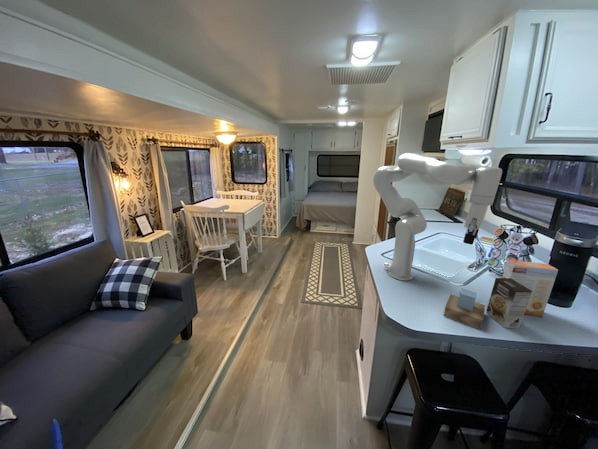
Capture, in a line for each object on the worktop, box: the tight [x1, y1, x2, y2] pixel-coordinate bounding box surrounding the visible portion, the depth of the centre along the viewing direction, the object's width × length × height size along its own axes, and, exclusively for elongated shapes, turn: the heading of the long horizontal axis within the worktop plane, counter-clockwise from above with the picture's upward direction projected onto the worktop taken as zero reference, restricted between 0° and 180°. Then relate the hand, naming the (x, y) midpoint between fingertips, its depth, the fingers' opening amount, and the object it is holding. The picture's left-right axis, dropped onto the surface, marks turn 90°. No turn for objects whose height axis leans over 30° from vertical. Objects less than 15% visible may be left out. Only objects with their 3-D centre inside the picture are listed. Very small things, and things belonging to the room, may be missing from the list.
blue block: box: [457, 287, 478, 311], centre depth 93 cm, size 5×5×6 cm
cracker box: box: [501, 259, 559, 317], centre depth 96 cm, size 14×6×21 cm, turn 73°
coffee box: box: [485, 277, 532, 329], centre depth 90 cm, size 9×6×16 cm
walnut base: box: [443, 293, 486, 330], centre depth 94 cm, size 12×12×4 cm
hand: (469, 240), depth 97 cm, fingers open, 9 cm apart
